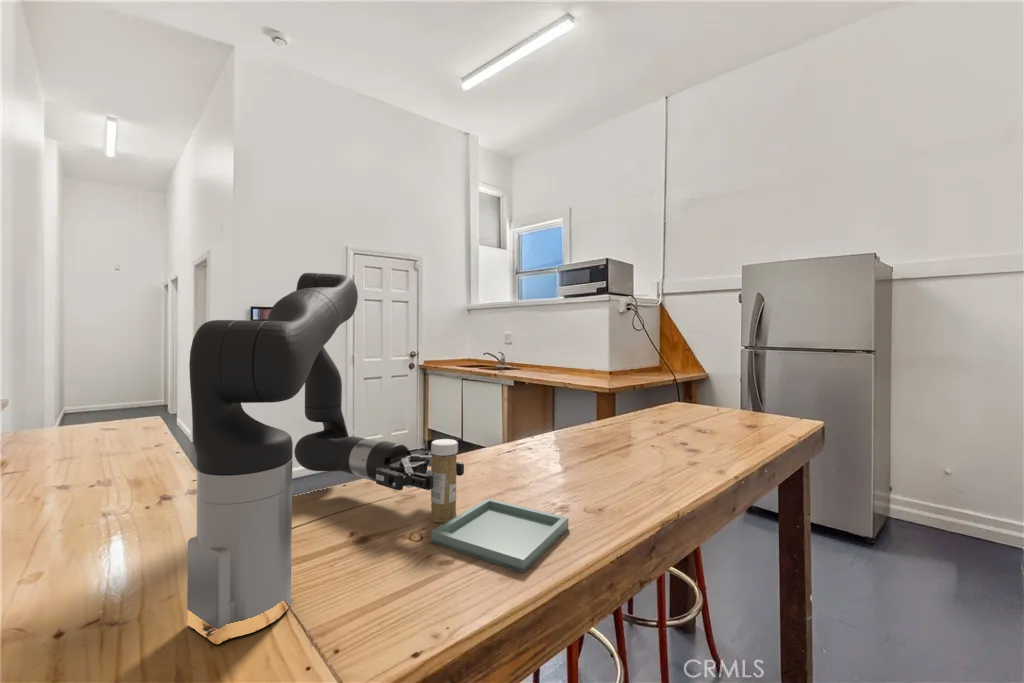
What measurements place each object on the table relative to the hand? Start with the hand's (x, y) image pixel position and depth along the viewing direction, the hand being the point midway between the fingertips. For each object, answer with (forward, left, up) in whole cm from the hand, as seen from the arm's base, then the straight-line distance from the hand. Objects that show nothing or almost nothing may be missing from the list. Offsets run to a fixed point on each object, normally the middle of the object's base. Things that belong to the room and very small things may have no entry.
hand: (448, 476), depth 76 cm
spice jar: (0, +1, -8) cm, 8 cm away
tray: (0, -11, -8) cm, 13 cm away
